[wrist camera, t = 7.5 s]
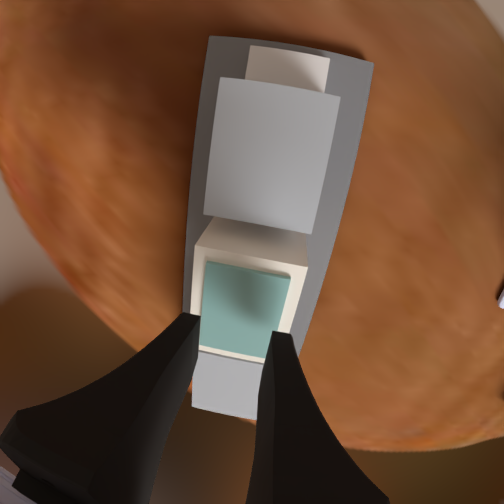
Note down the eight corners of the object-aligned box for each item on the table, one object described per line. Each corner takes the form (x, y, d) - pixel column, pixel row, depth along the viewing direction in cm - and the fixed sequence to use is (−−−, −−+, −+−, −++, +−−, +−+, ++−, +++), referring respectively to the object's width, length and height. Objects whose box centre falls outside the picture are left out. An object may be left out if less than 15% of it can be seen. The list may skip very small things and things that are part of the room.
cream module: (304, 217, 15) (308, 270, 11) (283, 301, 18) (278, 369, 13) (223, 202, 15) (193, 247, 11) (213, 286, 18) (187, 350, 13)
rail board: (369, 65, 13) (407, 47, 8) (292, 364, 22) (289, 428, 17) (214, 39, 13) (175, 10, 8) (185, 342, 22) (160, 402, 17)
